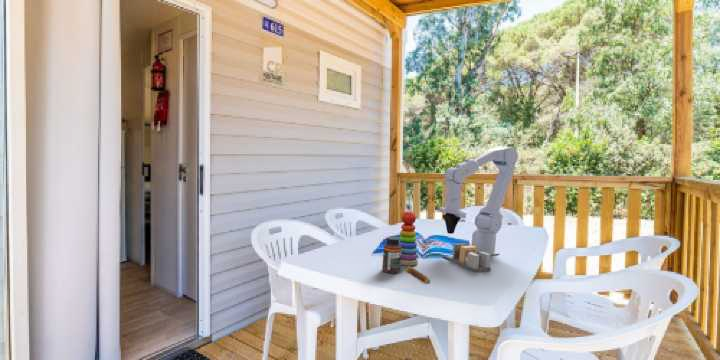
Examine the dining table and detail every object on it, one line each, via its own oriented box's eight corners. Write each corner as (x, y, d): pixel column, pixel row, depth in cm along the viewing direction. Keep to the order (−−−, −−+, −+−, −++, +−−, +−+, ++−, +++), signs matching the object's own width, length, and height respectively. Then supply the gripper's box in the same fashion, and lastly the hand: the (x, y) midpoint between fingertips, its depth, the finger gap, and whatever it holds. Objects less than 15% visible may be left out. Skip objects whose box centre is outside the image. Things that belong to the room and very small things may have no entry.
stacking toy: (419, 261, 143) (423, 210, 142) (415, 267, 136) (418, 214, 134) (398, 258, 146) (401, 208, 144) (393, 264, 138) (396, 211, 137)
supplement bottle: (380, 268, 133) (382, 235, 132) (398, 268, 133) (400, 235, 133) (383, 273, 127) (385, 239, 126) (401, 274, 128) (403, 240, 127)
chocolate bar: (423, 284, 120) (424, 277, 120) (405, 272, 131) (405, 265, 131) (431, 283, 121) (431, 276, 121) (411, 271, 132) (412, 265, 132)
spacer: (475, 262, 143) (476, 247, 142) (463, 263, 141) (464, 248, 140) (471, 260, 145) (472, 245, 145) (459, 260, 143) (460, 246, 143)
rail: (442, 257, 151) (443, 243, 150) (457, 255, 154) (458, 242, 153) (474, 272, 134) (475, 256, 134) (490, 270, 137) (492, 255, 136)
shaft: (449, 255, 148) (450, 242, 148) (461, 254, 151) (462, 242, 150) (471, 265, 137) (472, 251, 137) (483, 264, 139) (484, 250, 139)
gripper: (433, 196, 156) (431, 229, 158) (456, 201, 143) (453, 238, 144) (448, 196, 159) (445, 229, 160) (471, 201, 146) (468, 237, 147)
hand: (450, 233), depth 152 cm, fingers closed
